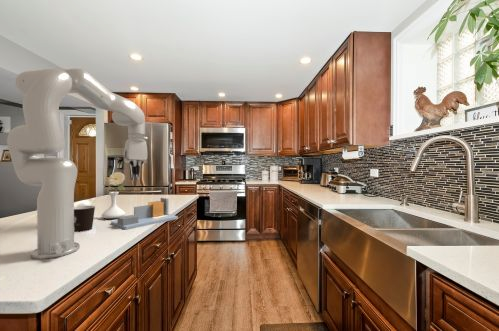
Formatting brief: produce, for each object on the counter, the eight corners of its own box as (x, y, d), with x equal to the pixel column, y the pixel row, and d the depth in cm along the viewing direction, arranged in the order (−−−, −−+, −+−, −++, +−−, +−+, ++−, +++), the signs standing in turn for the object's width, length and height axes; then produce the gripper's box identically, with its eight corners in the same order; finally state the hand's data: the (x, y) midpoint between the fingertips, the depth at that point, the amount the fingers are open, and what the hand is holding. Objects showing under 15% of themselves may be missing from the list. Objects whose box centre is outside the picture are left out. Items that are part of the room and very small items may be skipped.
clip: (163, 214, 128) (163, 201, 128) (153, 216, 123) (153, 203, 123) (158, 213, 131) (158, 200, 131) (148, 215, 126) (148, 202, 126)
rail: (178, 218, 126) (178, 199, 126) (126, 229, 105) (125, 206, 105) (161, 214, 136) (161, 196, 136) (111, 223, 115) (111, 203, 115)
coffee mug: (95, 230, 104) (95, 207, 104) (70, 233, 99) (70, 210, 99) (94, 224, 114) (94, 204, 113) (72, 227, 109) (72, 205, 109)
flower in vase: (96, 219, 124) (96, 172, 124) (114, 214, 135) (113, 171, 135) (116, 221, 121) (116, 172, 120) (132, 216, 132) (132, 171, 131)
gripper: (147, 140, 127) (146, 174, 126) (117, 136, 115) (116, 174, 115) (154, 139, 122) (153, 174, 122) (124, 135, 110) (123, 174, 110)
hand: (135, 174), depth 118 cm, fingers closed
